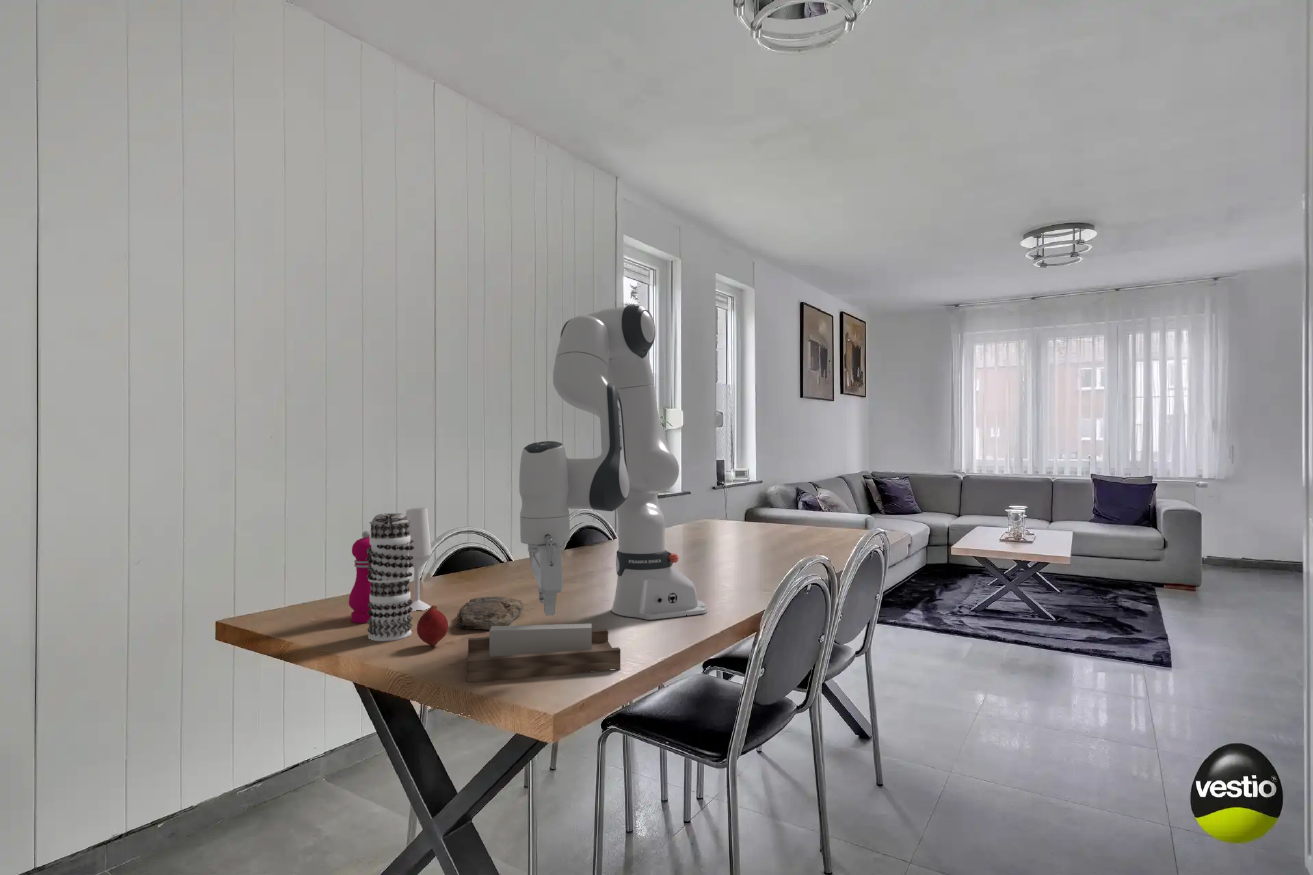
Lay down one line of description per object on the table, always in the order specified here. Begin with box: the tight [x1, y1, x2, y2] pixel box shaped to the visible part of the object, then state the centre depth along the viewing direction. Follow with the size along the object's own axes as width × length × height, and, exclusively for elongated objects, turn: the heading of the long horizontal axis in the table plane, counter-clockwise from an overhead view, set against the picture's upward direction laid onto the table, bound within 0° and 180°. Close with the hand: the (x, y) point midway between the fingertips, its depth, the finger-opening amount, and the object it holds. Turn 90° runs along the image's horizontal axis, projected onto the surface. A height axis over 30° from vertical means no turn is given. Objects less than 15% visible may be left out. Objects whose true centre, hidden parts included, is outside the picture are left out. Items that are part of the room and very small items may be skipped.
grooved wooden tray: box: [466, 628, 621, 683], centre depth 125 cm, size 26×14×4 cm, turn 104°
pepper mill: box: [348, 530, 371, 624], centre depth 157 cm, size 7×7×20 cm
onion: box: [416, 604, 449, 647], centre depth 136 cm, size 6×6×8 cm
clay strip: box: [489, 623, 593, 657], centre depth 125 cm, size 18×3×5 cm, turn 96°
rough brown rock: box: [454, 596, 524, 631], centre depth 156 cm, size 14×5×20 cm
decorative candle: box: [366, 512, 414, 642], centre depth 144 cm, size 9×9×25 cm
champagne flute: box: [405, 506, 432, 612], centre depth 168 cm, size 7×7×24 cm
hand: (546, 608), depth 126 cm, fingers open, 8 cm apart
